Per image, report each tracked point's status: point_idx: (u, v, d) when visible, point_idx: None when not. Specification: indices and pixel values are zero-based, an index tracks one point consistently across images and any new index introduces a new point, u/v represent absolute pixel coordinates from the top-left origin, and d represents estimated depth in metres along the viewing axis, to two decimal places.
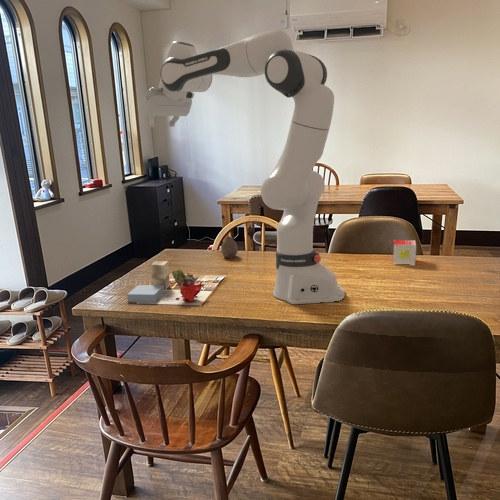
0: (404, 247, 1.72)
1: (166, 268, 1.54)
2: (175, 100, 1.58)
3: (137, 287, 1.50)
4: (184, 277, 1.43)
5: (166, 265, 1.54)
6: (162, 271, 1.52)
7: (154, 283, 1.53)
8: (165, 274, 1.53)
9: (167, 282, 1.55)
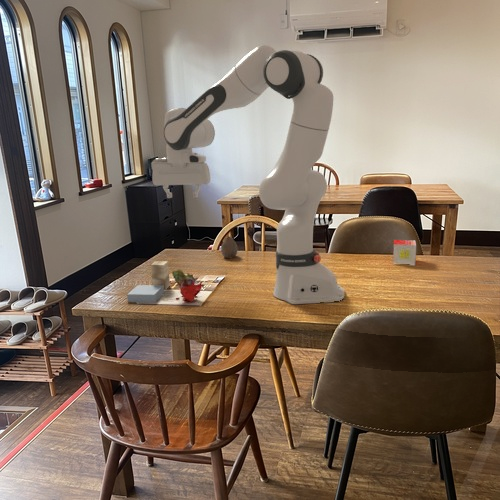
0: (404, 247, 1.72)
1: (166, 268, 1.54)
2: (177, 166, 1.55)
3: (137, 287, 1.50)
4: (184, 277, 1.43)
5: (166, 265, 1.54)
6: (162, 271, 1.52)
7: (154, 283, 1.53)
8: (165, 274, 1.53)
9: (167, 282, 1.55)
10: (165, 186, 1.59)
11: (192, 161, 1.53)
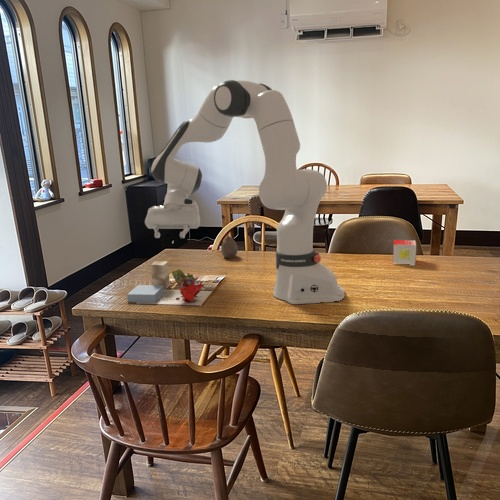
0: (404, 247, 1.72)
1: (166, 268, 1.54)
2: (172, 207, 1.67)
3: (137, 287, 1.50)
4: (184, 277, 1.43)
5: (166, 265, 1.54)
6: (162, 271, 1.52)
7: (154, 283, 1.53)
8: (165, 274, 1.53)
9: (167, 282, 1.55)
10: (155, 226, 1.66)
11: (186, 203, 1.67)
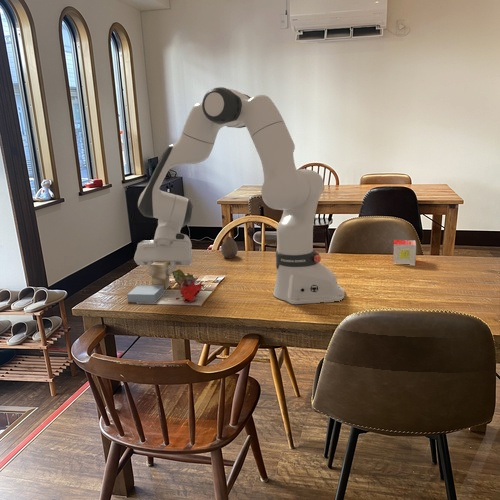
0: (404, 247, 1.72)
1: (166, 268, 1.54)
2: (162, 242, 1.57)
3: (137, 287, 1.50)
4: (184, 277, 1.43)
5: (166, 265, 1.54)
6: (162, 271, 1.52)
7: (154, 283, 1.53)
8: (165, 274, 1.53)
9: (167, 282, 1.55)
10: (150, 262, 1.56)
11: (178, 238, 1.57)
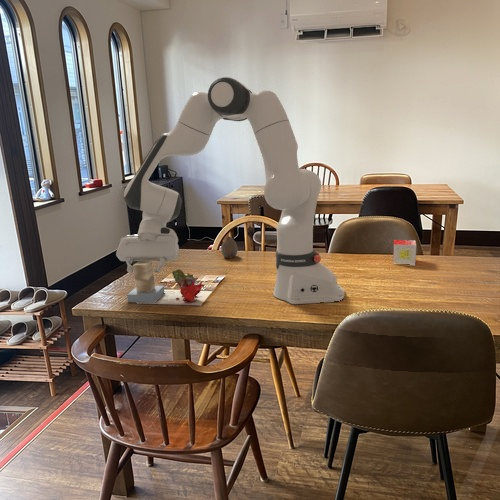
0: (404, 247, 1.72)
1: (150, 268, 1.45)
2: (146, 236, 1.48)
3: None
4: (184, 277, 1.43)
5: (150, 265, 1.45)
6: (145, 271, 1.43)
7: (137, 284, 1.44)
8: (148, 274, 1.44)
9: (151, 283, 1.46)
10: (128, 258, 1.47)
11: (163, 232, 1.48)
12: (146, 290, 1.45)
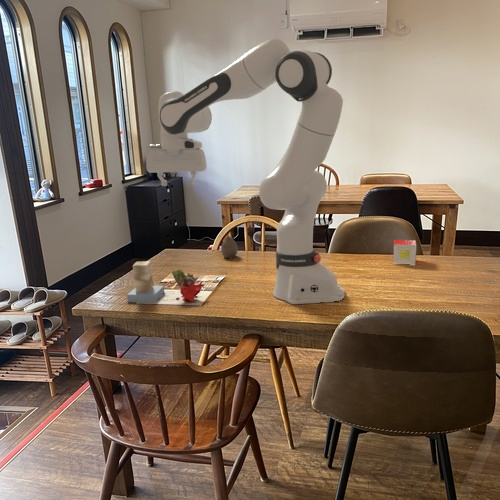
0: (404, 247, 1.72)
1: (149, 268, 1.45)
2: (172, 152, 1.49)
3: None
4: (184, 277, 1.43)
5: (149, 265, 1.45)
6: (145, 272, 1.43)
7: (137, 285, 1.44)
8: (148, 275, 1.44)
9: (150, 283, 1.46)
10: (159, 173, 1.53)
11: (187, 147, 1.47)
12: (145, 290, 1.45)
